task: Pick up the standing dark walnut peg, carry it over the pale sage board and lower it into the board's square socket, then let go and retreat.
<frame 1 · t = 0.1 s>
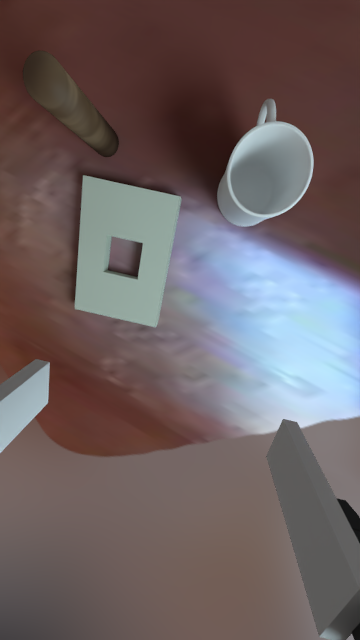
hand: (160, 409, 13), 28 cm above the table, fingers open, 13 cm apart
mug: (249, 182, 34), on the table
peg: (106, 142, 34), on the table
socket board: (126, 256, 38), on the table
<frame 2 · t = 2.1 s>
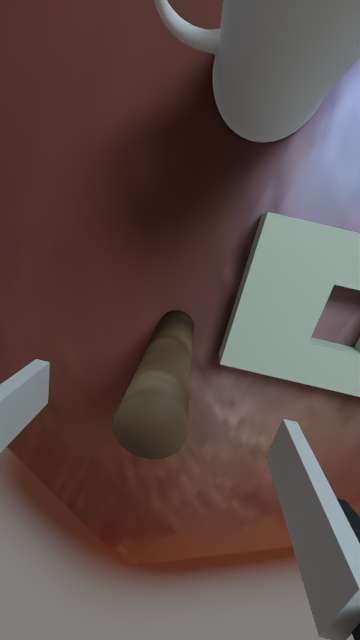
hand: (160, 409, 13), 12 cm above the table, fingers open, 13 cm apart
mug: (248, 73, 18), on the table
peg: (176, 327, 25), on the table
socket board: (339, 315, 23), on the table
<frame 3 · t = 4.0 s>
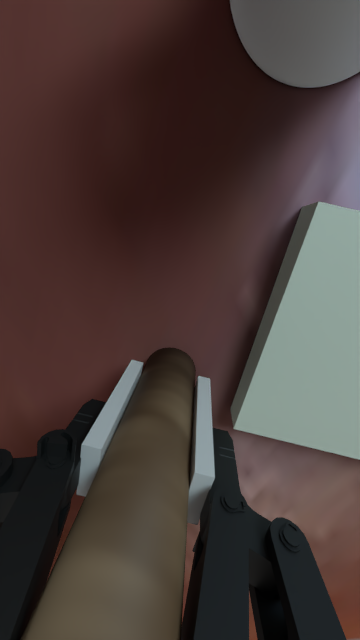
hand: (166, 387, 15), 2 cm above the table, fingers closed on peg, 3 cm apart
peg: (170, 370, 17), on the table, touching gripper
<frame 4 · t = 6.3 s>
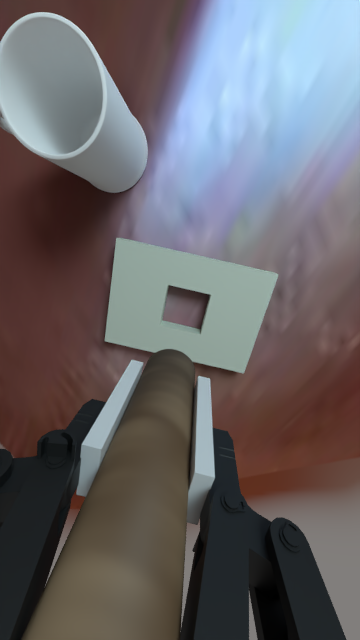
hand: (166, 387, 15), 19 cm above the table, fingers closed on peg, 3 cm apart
mug: (98, 151, 28), on the table
peg: (170, 371, 17), point 17 cm above the table, touching gripper
socket board: (185, 306, 33), on the table
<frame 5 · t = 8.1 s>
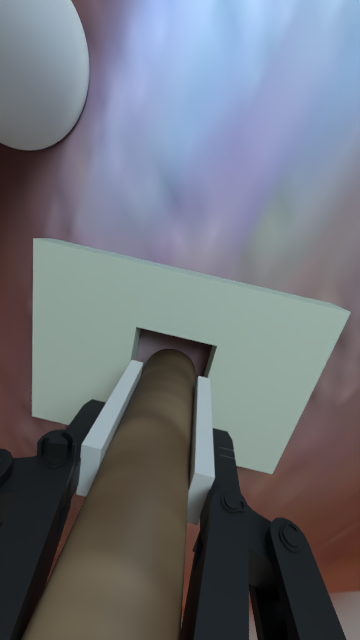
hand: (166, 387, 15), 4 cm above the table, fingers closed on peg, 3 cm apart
peg: (170, 371, 17), point 2 cm above the table, touching gripper
socket board: (171, 358, 19), on the table
when the fingers open (3 cm above the table, at t = 8.8 s): peg stays where it is, resting in socket board.
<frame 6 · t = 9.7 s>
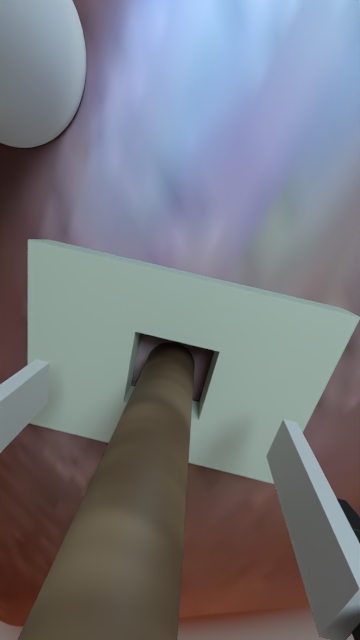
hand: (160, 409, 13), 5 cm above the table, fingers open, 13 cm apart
peg: (171, 364, 18), resting in socket board
socket board: (172, 363, 18), on the table
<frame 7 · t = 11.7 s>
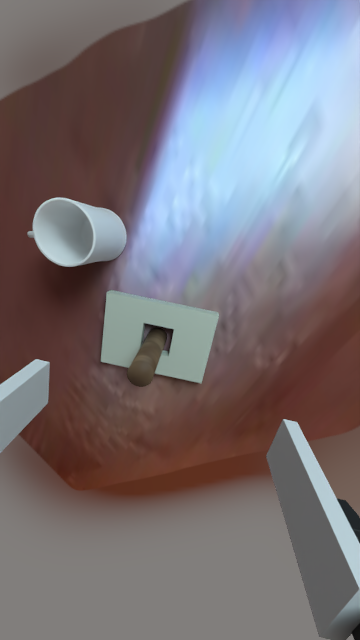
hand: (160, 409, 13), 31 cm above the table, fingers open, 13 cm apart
mug: (93, 234, 41), on the table
peg: (157, 336, 46), resting in socket board
socket board: (158, 335, 46), on the table
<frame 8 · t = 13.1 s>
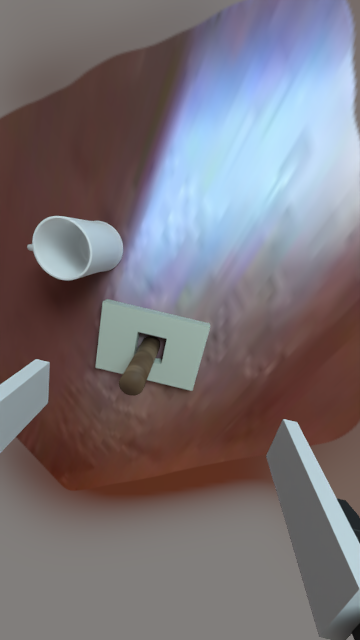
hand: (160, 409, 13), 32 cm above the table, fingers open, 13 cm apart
mug: (91, 245, 42), on the table
peg: (151, 344, 47), resting in socket board
socket board: (151, 344, 47), on the table
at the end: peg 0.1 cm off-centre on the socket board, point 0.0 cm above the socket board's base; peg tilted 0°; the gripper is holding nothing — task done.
